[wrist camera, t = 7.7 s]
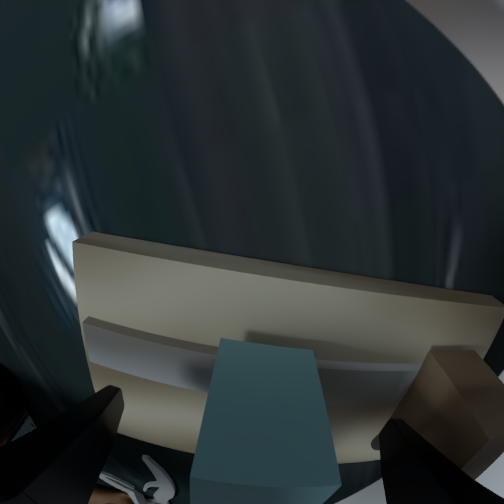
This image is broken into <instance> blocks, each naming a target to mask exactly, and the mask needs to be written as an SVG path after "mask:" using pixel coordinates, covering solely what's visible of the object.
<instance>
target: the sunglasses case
mask: <svg viewBox="0 0 504 504" xmlns="http://www.w3.org/2000/svg"><path fill="white" fill-rule="evenodd" d="M88 504H135V503H134V502H133V500H132V499H131V498H130V496H129V495H128V494H126V493H123V492H119V491H114V490H110V489H106V488H103V487H100V486H97V485H96V486H95V488H94V490H93V493H92V495H91V498H90V500H89V503H88Z"/></svg>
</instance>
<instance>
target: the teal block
mask: <svg viewBox="0 0 504 504" xmlns="http://www.w3.org/2000/svg"><path fill="white" fill-rule="evenodd" d="M341 485H342V484H341V479H340V474H339V468H338V463H337V458H336V453H335V448H334V443H333V438H332V433H331V428H330V424H329V419H328V414H327V410H326V405H325V401H324V396H323V392H322V387H321V383H320V378H319V374H318V370H317V366H316V361H315V357H314V353H313V350H307V349H297V348H289V347H280V346H272V345H265V344H258V343H251V342H244V341H238V340H231V339H225V338H220V343H219V347H218V351H217V356H216V360H215V365H214V369H213V373H212V378H211V382H210V387H209V391H208V396H207V400H206V405H205V409H204V414H203V418H202V423H201V427H200V432H199V437H198V441H197V446H196V450H195V455H194V460H193V464H192V469H191V474H190V504H323V503H324V502H325V501H326V500H327V499H328V498H329V497H330V496H331V495H332V494H333V493H334V492H335V491H336V490H337V489H338V488H339V487H340V486H341Z"/></svg>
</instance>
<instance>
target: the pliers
mask: <svg viewBox="0 0 504 504" xmlns="http://www.w3.org/2000/svg"><path fill="white" fill-rule="evenodd" d="M142 460H143V461H144V462H145V463H146V465H147V466H148V467H149V469H150V470H151V471H152V473H153V474H154V476H155V478H156V480H157V481H153V482H148V483H146V484H145V485H144V489H143V491H145V492H146V490H147V488H149V487H160V488H159V489H158V490H157V491H156V492H155V493H154V495H153V496H154V497H155V499H147V498H144V495H143V494H141V493H139V492H138V491H136V490H135V489H134V488H135V486H133V485H132V484H130V483H128V482H126V481H124V480H122V479H120V478H118V477H115V476H113V475H111V474H108V473H106V472H104V471H101V474H100V476H99V478H101V479H102V480H104V481H105V482H107V483H109V484H111V485H112V486H114V487H116V488H118V489H120V490H122V491H124V492H127V493H128V495H129V496H130V498H131V499H132V500H133V502H134V503H135V504H170V503H169V502H168V500H169V499H171V498H173V496H174V494H175V486H174V483H173V481H172V479H171V478H170V476H169V475H168V474H167V473H166V471H165V470H164V469H163V468H162V467H161V466H160V465H159V464H158V463H156V462H155V461H154V460H153V459H152V458H151V457H150V456H149V455H143V456H142Z"/></svg>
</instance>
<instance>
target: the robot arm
mask: <svg viewBox="0 0 504 504" xmlns="http://www.w3.org/2000/svg"><path fill="white" fill-rule="evenodd" d="M123 411H124V399H123V394H122V390H121V388H119V387H117V386H113V385H107V386H106V387H104V388H102V389H101V390H99V391H98V392H96V393H94V394H93V395H91V396H90V397H88V398H86V399H85V400H83V401H81V402H80V403H78V404H76V405H75V406H73V407H71V408H70V409H68V410H66V411H65V412H63V413H61V414H60V415H58V416H56V417H55V418H53V419H51V420H50V421H48V422H46V423H44V424H43V425H41V426H39V425H38V423H37V421H36V419H35V418H34V416H33V414H32V412H31V410H30V408H29V406H28V404H27V402H26V400H25V398H24V396H23V394H22V392H21V390H20V388H19V385H18V383H17V381H16V380H15V378H14V377H13V376H12V375H10V374H8V373H7V372H5V371H4V370H2V369H1V368H0V504H88V503H89V500H90V498H91V495H92V493H93V490H94V488H95V486H96V483H97V481H98V478H99V476H100V474H101V471H102V469H103V467H104V465H105V462H106V460H107V458H108V455H109V453H110V451H111V448H112V446H113V443H114V440H115V437H116V433H117V430H118V427H119V423H120V420H121V417H122V414H123ZM24 422H25V423H26V424H28V425H30V426H31V427H33V428H35V429H34V430H32V432H29V433H27V434H25V435H23V436H21V437H20V438H18V439H16V440H14V441H12V439H13V438H14V436H15V435H16V434H17V432H18V431H19V429H20V428H21V426H22V425H23V424H24ZM38 426H39V427H38ZM11 441H12V442H11ZM379 449H380V461H381V472H382V479H383V484H384V490H385V496H386V502H387V504H504V498H502V497H500V496H498V495H497V494H495V493H494V492H492V491H490V490H489V489H487V488H486V487H484V486H483V485H481V484H480V483H478V482H476V481H475V480H474V479H473V478H471V477H470V476H469V475H468V474H466V473H465V472H464V471H463V470H461V469H460V468H459V467H458V466H457V465H455V464H454V463H453V462H452V461H451V460H449V459H448V458H447V457H446V456H445V455H443V454H442V453H441V452H440V451H439V450H437V449H436V448H435V447H434V446H433V445H432V444H430V443H429V442H428V441H427V440H426V439H424V438H423V437H422V436H421V435H420V434H419V433H418V432H416V431H415V430H414V429H413V428H412V427H411V426H409V425H408V424H407V423H406V422H405V421H404V420H402V419H401V418H390V419H389V420H388V421H387V422H386V424H385V425H384V427H383V428H382V429H381V431H380V433H379Z"/></svg>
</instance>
